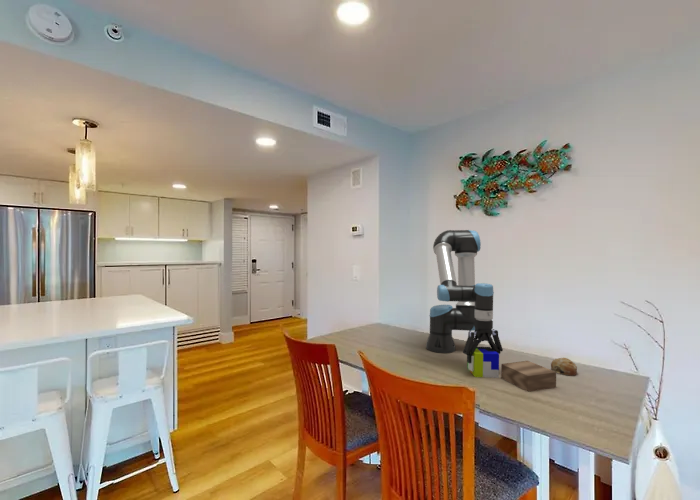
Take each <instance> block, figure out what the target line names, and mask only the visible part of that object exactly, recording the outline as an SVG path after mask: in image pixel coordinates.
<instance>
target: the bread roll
mask: <svg viewBox="0 0 700 500" xmlns="http://www.w3.org/2000/svg"><path fill="white" fill-rule="evenodd" d="M550 368H551V369H550V370H552V371H555V372H556V374H557V373H558V374H560V375H563V376H567V377H568V376H569V377H572V376H574V377H575V376H576V375H577V372H578V366H577V364H575V362H574V361H572V360H571V359H569V358H568V357H558V358H555V359H553V360H552V361H551V363H550Z"/></svg>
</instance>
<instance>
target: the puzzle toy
mask: <svg viewBox="0 0 700 500" xmlns="http://www.w3.org/2000/svg"><path fill="white" fill-rule="evenodd" d="M472 356H474V371H470V370H468V362H467V361H466V362H467V370H468V371H469V372H470V373H471V374H472V375H473V377H475V378H494V379H495V378H498V379H499V378H500V354H499V353H497V352H496V351H495V350H493V349H492V348H491V346H477V348H476V350H475V351H474V353H473V355H472Z"/></svg>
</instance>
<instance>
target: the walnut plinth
mask: <svg viewBox="0 0 700 500" xmlns="http://www.w3.org/2000/svg"><path fill="white" fill-rule="evenodd" d="M500 366H501V367H500V368H501V369H500V372H501V373H500V376H501V377H500V378H501V379H502V380H504V381H506V382H508V383H510V384H512V385H514V386H516V387H518V388H520V389H521V390H524V391H526V392H535V391H540V390H548V389H554V388H556V387H557V373H556V372H555V371H553V370H552V369H549V368H547V367H545V366H542V365H540V364H537V363H534V362H533V361H532V362H531V361H529V360H524V361H514V362H505V363H501V364H500Z"/></svg>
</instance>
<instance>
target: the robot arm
mask: <svg viewBox="0 0 700 500" xmlns="http://www.w3.org/2000/svg"><path fill="white" fill-rule="evenodd" d="M481 244H482V241H481V238H480V235H479V232H477V231H476V230H471V229H465V230H464V229H461V230H460V229H455V230H453V229H452V230H451V229H448V230H445V231H443V232H441V233H439V234H438V236H436V237H435V240H434V242H433V245H432V246H433V247H432V249H433V253H434V254H435V256H436V263H437V270H438V277H439V283H440V284H439V285H437V287H436V296H437V297H436V298H437V299H438V301H439V302H456V303H455V307H453V306H452V304H438V305H434V306H432V307H430V309H429V315H428V316H429V335H428V337H427V340H426V343H425V348H426V349H427V350H428V351H430V352H434V353H441V354H447V353H453V352H455V351H456V344H455V340H454V338H453V331H468V332H467V333H468V336H467V339H466V342H465V345H464V347H463V350H462V353H463V354H464V355H466V362H468V369H467V370H468V371H469V370H470V371H474V356H472V355H473V353H474V351H475V350H476V348H477V347H479V345H480V343H481V342H487V343H488V345H489V347H491V348H492V349H493V350H495V351H496V352H497V353H499V355H500V354H501V352H503V349H504V348H503V346H502V343H501V340H500V337H499V330H497V329H493V328H494V321H493V319H494V293H495V292H494V285H493V284H491V283H485V282H482V283H479V282H478V283H476V274H475V273H476V272H475V271H476V269H475V257H476V256H477V255H478V252H480V251H481V247H482V246H481ZM452 252H454V256H456V258H457V277H456V273H455V267H454V264H453V257H452ZM457 279H458V280H457ZM470 371H469V372H470Z"/></svg>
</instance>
